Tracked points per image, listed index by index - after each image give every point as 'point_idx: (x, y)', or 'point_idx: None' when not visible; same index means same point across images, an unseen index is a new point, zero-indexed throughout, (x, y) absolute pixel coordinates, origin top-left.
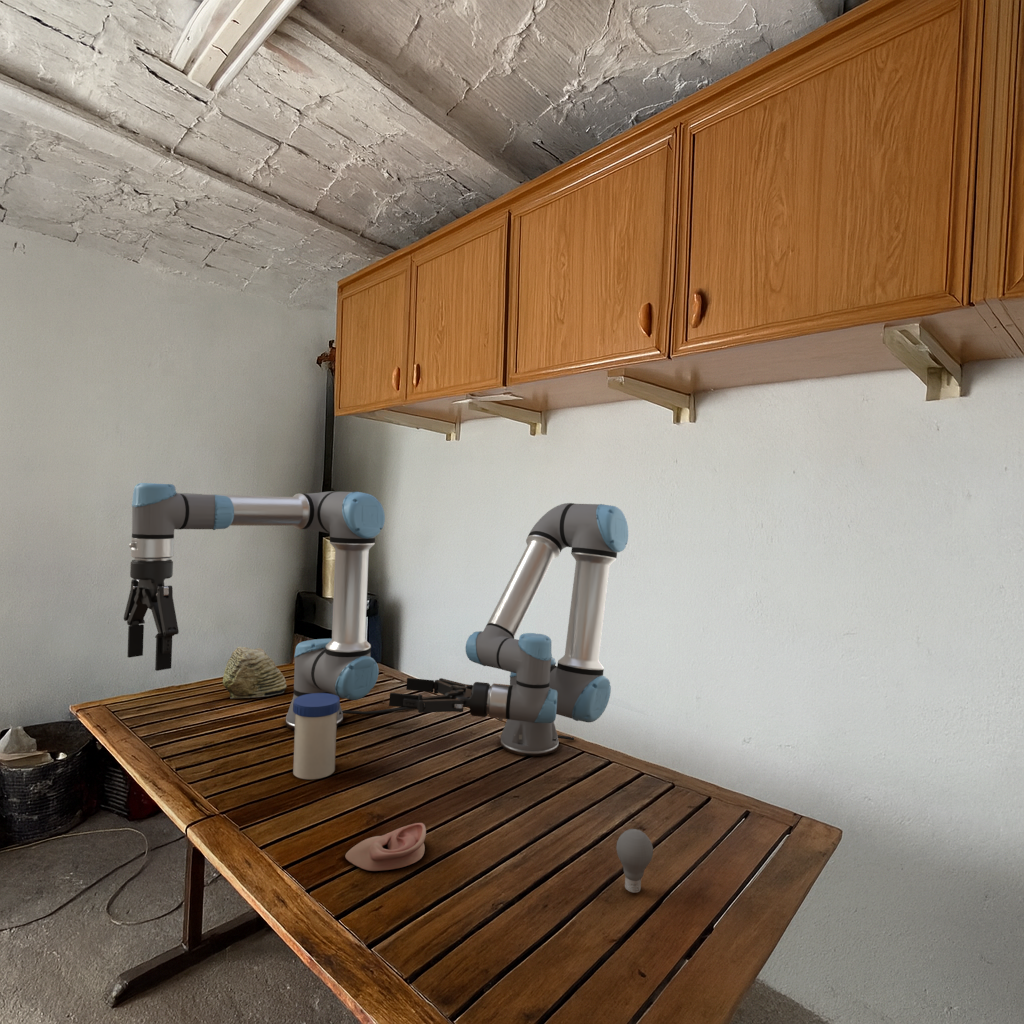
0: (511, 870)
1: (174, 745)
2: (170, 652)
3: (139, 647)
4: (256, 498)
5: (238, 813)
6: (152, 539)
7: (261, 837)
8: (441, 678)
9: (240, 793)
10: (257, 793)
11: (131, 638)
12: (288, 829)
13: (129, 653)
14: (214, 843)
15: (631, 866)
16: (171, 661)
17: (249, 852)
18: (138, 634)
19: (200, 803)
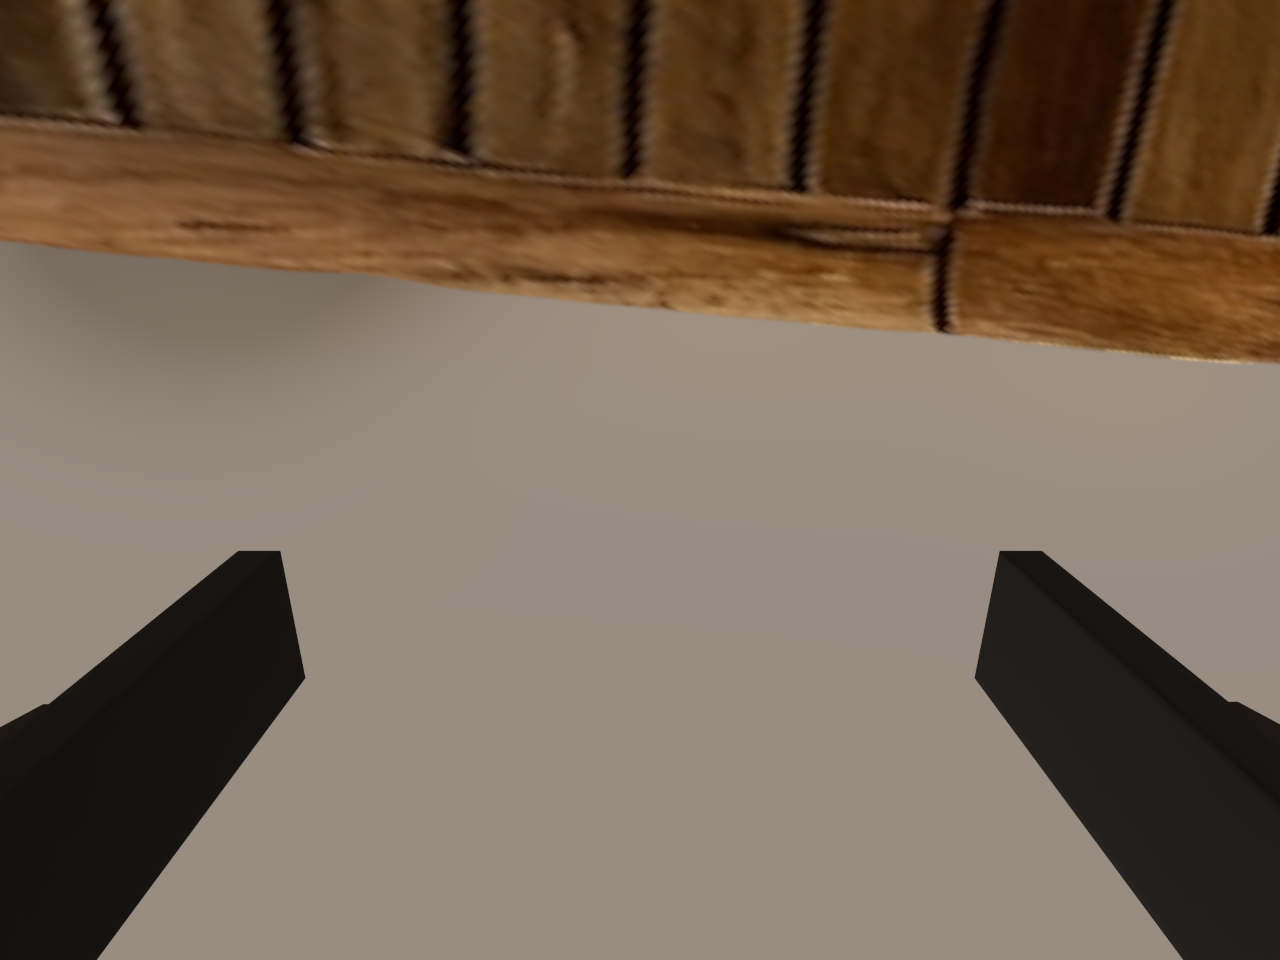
0: None
1: (156, 23)
2: (1245, 709)
3: (233, 643)
4: None
5: (1011, 161)
6: None
7: (1221, 194)
8: None
9: (874, 62)
10: (931, 4)
11: (171, 833)
12: (1271, 88)
13: (280, 701)
14: (1112, 324)
15: None
16: (1087, 588)
17: (1256, 273)
18: (104, 791)
19: (827, 226)
